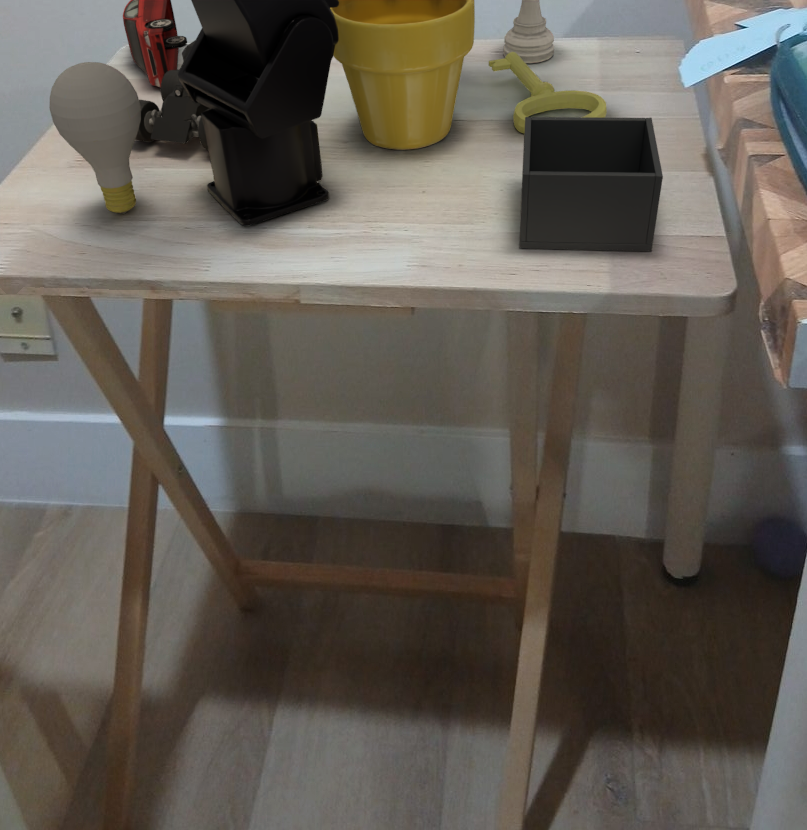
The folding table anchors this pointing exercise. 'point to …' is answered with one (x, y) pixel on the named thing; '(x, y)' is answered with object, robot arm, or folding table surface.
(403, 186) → the folding table surface
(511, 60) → the key
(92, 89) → the light bulb
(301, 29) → the robot arm
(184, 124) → the toy vehicle
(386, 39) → the flower pot
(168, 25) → the toy car
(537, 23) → the chess piece
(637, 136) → the bin
